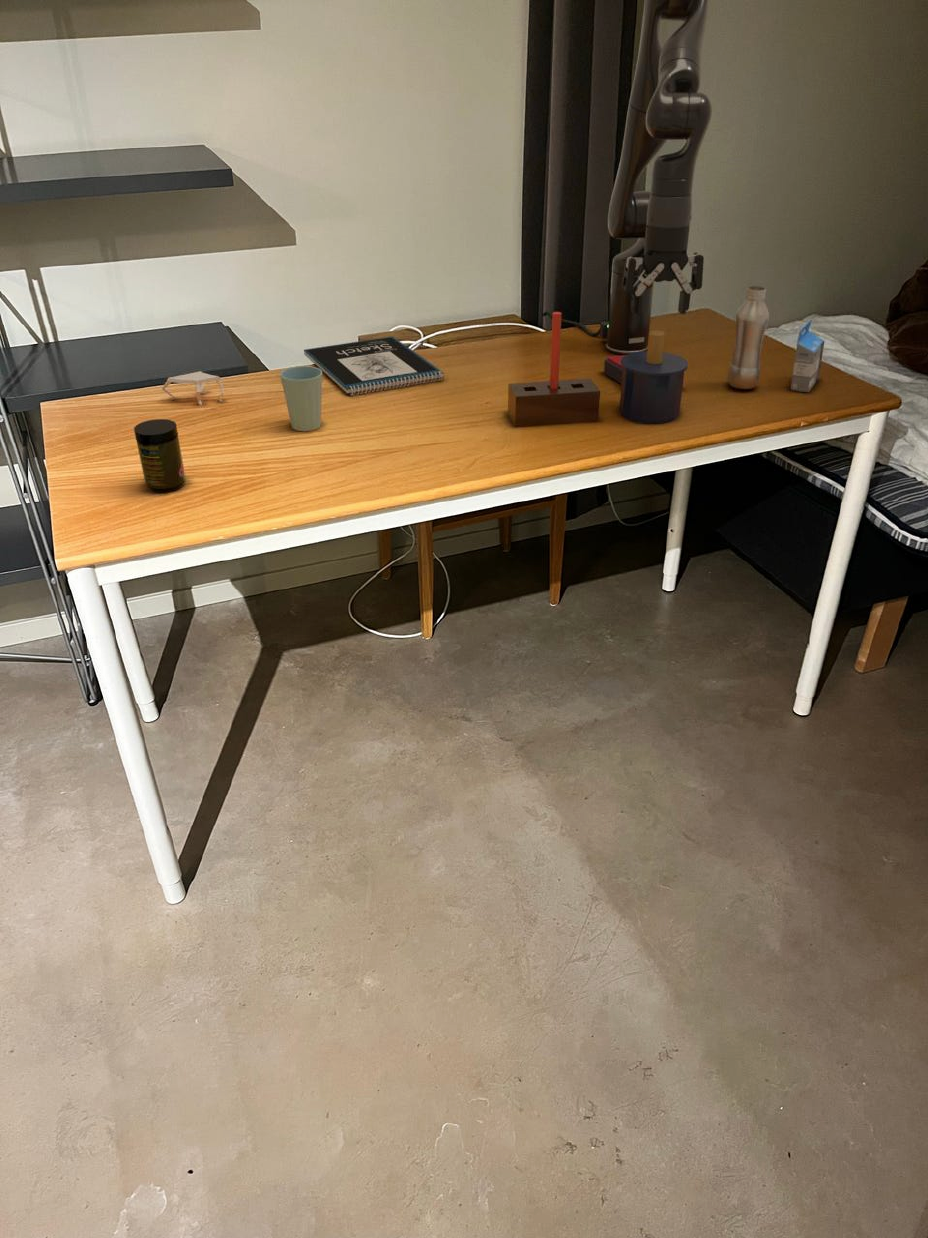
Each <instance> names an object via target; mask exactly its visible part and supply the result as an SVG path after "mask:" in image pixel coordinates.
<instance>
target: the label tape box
mask: <svg viewBox="0 0 928 1238" xmlns="http://www.w3.org/2000/svg"><path fill="white" fill-rule="evenodd" d="M812 321H813V319H812V318H811V319H809V320H808V321H807V322H806V323H805V325H804V326H802V328H800V329H799V333H798V336H797V341H796V349H795V355H794V362H793V369H792V376H791V383H790V390H791V391H795V392H800V393H810V392H811V390H812V389H813V387H814V386H815V384H816V383H817V382H818V381H819V378H820V373H821V366H822V360H823V354H824V347H825V340H824V339H823V338H821V337H819V336H817V335H816V334H815V333H813V332H811V331H810V328H811V324H812Z"/></svg>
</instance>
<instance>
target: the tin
mask: <svg viewBox="0 0 928 1238" xmlns="http://www.w3.org/2000/svg"><path fill="white" fill-rule="evenodd" d="M683 377H684V378H685V371H684V372H682V373H679V374H676V375H670V376H647V375H640V374H636V373H632V372H630V371H627V370H625V369H624V368H623V372H622V384H620V386H621V387H620V399H619V408H618V409H619V414H620V415H621V416H622V417H623V418H625V419H626V420H629V421H631V422H636V423H640V424H648V425H658V424H666V423H671V422H673V421H675V420H676V419H678V418H679V417H680V411H681V401H682V393H683V389H682V386H683V387H684V380H683Z"/></svg>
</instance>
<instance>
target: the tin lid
mask: <svg viewBox="0 0 928 1238" xmlns="http://www.w3.org/2000/svg"><path fill="white" fill-rule="evenodd" d="M665 341H666V332H665V331H662V330H651V331H650V330H649V338H648V348H647V351H643V352H635V353H631V354H628V355H625V356H624V357H622V358H621V362H620V364H621V366H622V367H623V368H624V369H625V370H627V371H630V372H632V373H636V374H640V375H647V376H670V375H676V374H679V373H682V372H684V373H685V371H687V369H688V367H689V362H688V360H687V359H686V358H684V357H683V356H680V355H678V354H675V353H671V352H665V350H664V349H665Z"/></svg>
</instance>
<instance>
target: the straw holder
mask: <svg viewBox="0 0 928 1238" xmlns="http://www.w3.org/2000/svg"><path fill="white" fill-rule="evenodd" d="M507 385H508V387H507V388H508V389H507V391H508V392H507V414H508V416H509V418H510V420H511V422H512V424H513V426H514V427H515V428H519V427H531V426H532V427H533V426H547V425H548V426H549V425H563V424H576V423H577V424H578V423H591V422H599V415H600V400H601V390H600V389H599V387H598V386H597V384H596V383H595V382H594V381H593V380H592V378H577V379H561V380H560V379H559V380H558V389H554V390H550V380H548V381H547V380H546V381H531V382H530V381H529V382H528V381H527V382H514V383H513V382H512V383H508V384H507Z"/></svg>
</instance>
